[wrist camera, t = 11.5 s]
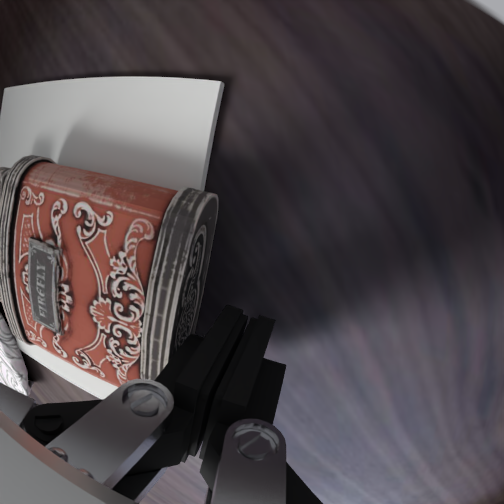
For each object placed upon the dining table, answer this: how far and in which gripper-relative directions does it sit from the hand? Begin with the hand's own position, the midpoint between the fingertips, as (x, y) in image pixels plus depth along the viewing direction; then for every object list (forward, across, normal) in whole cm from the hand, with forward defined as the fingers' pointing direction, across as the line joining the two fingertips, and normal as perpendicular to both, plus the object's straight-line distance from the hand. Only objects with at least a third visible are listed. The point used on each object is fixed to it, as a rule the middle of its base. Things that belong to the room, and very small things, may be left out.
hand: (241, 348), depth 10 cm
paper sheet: (+1, +8, 0) cm, 9 cm away
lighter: (0, +2, -1) cm, 2 cm away
